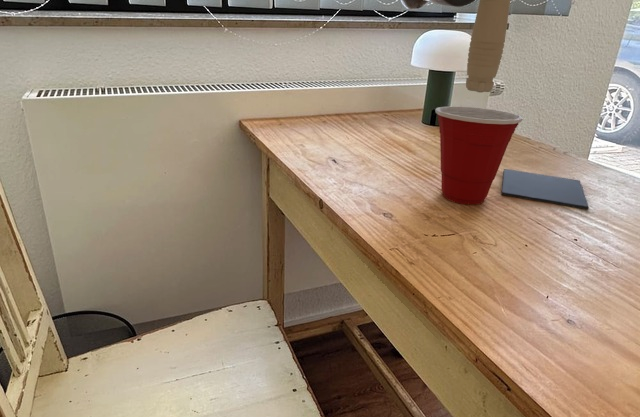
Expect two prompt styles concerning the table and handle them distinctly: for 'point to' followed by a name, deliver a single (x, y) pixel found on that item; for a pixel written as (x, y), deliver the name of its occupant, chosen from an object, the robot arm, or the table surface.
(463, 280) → the table surface
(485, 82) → the handle
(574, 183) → the mat
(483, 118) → the plastic cup
